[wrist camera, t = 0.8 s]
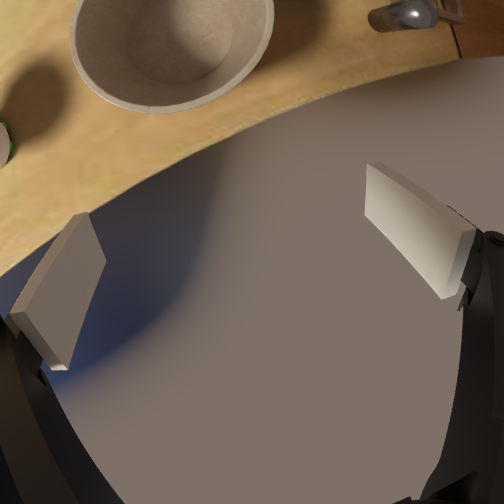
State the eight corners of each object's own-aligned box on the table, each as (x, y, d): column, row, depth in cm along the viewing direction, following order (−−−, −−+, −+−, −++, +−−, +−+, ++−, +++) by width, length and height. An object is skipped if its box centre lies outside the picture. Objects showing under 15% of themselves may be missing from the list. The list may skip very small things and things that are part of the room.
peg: (365, 7, 27) (410, -5, 18) (388, 10, 27) (434, 1, 18) (369, 31, 29) (415, 24, 20) (392, 33, 29) (439, 30, 20)
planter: (202, -41, 21) (203, -89, 11) (277, 55, 30) (313, 44, 19) (88, 36, 24) (38, 23, 14) (162, 130, 33) (141, 154, 22)
